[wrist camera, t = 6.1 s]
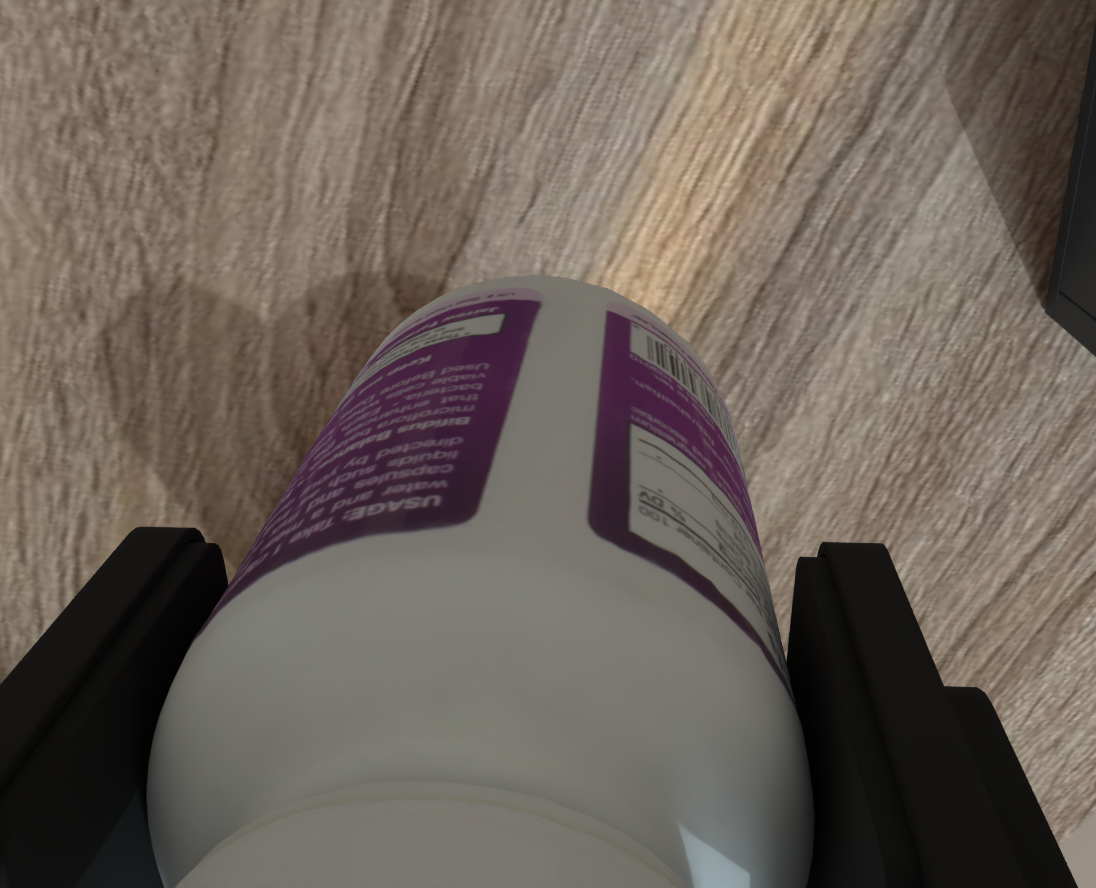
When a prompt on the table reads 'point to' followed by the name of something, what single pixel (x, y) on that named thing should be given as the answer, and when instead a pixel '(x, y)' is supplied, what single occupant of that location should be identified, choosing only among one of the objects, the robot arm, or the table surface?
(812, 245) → the table surface
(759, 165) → the table surface
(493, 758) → the pill bottle
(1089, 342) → the holder
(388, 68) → the table surface
